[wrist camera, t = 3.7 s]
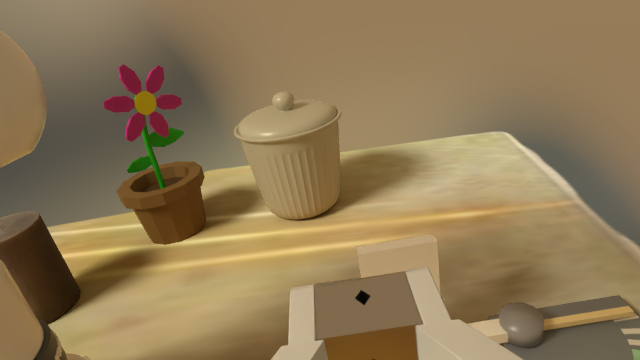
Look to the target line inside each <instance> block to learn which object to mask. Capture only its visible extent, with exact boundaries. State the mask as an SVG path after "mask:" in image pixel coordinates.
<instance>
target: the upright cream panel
mask: <svg viewBox="0 0 640 360" xmlns="http://www.w3.org/2000/svg"><path fill="white" fill-rule="evenodd" d="M356 250H357V256H358V263H359V269H360V275H361V278H364V277H371V276H377V275H383V274H389V273H395V272H401V271H404V270H409V269H415V268H420V267H427V268H429V270H430V272H431V274H432V277H433V279H434V281H435V283H436V285H437V288H438V290H439V292H440V277H439V260H438V242H437V240H436V238H435V236H434V234H429V235H423V236H418V237H412V238H406V239H400V240H394V241H388V242H382V243H376V244H370V245H364V246H358V247H356ZM633 315H634V311H633V310H632V309H631V308H630V307H629V306H624V307H618V308H612V309H606V310H600V311H594V312H587V313H581V314H575V315H569V316H563V317H557V318H551V319H544V317H543V315H542V313H541V312H540V311H539V310H538V309H536V308H535V307H533V306H531V305H528V304H525V303H509V304H506V305H505V306H503V307H502V308H501V310H500V312H499V319H493V320H487V321H480V322H474V323H468V325H470V326H471V327H473V328H474V329H476V330H477V331H479V332H481V333H482V334H484V335H485V336H487V337H489V338H490V339H492V340H493V341H495V342H496V343H498V344H500V343H506V342H508V343H510V344H512V345H515V346H518V347H524V348H528V347H534V346H536V345H538V344H539V343H540V342H541V341H542V339H543V331H544V330H550V329H556V328H563V327H569V326H575V325H581V324H587V323H593V322H600V321H606V320H612V319H618V318H624V317H630V316H633Z"/></svg>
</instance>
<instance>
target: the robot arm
mask: <svg viewBox="0 0 640 360" xmlns="http://www.w3.org/2000/svg"><path fill="white" fill-rule="evenodd" d="M45 120H46V98H45V92H44V88H43V85H42V82H41V79H40V77H39V75H38V72H37V70H36V69H35V67H34V65H33V64H32V62H31V60H30V59H29V58H28V57H27V56H26V54H25V53H24V51H23V50H22V49H21V48H20V47H19V46H18V45H17V44H16V43H15V42H14V41H13V40H12V39H11V38H10V37H9V36H8V35H6V34H5V33H4V32H3V31H1V30H0V167H2V166H4V165H6V164H8V163H10V162H12V161H14V160H16V159H18V158H20V157H22V156H24V155H26V154H28V153H30V152H32V151H33V150H34V148H35V147H36V145H37V143H38V142H39V139H40V137H41V135H42V132H43V129H44V125H45ZM0 360H91V359H90V358H89V357H87V356H85V357H81V356H79V355H76V354H66V353H65V351H64V350H63V348H62V346H61V343H60V340H59V339H58V337H57V336H56V334H55V333H54V332H53V331H52V330H51V329H50V328H49V326H48V325H47V324H46V323H45V322H44V321H43V320H40V319H38V318H36V316H35V314H34V313H33V311H32V309H31V308H30V306H29V304H28V303H27V301H26V299H25V298H24V296H23V294H22V293H21V291H20V289H19V288H18V286H17V284H16V283H15V281H14V279H13V278H12V276H11V274H10V273H9V271H8V269H7V268H6V266H5V264H4V263H3V261H2V260H0ZM271 360H523V359H522V358H520V357H519V356H517V355H515V354H514V353H512V352H511V351H509V350H507V349H506V348H504V347H503V346H501V345H500V344H498V343H496V342H495V341H493V340H492V339H490V338H489V337H487V336H485V335H484V334H482V333H481V332H479V331H477V330H476V329H474V328H473V327H471V326H470V325H468V324H466V323H465V322H463V321H462V320H460V319H456V320H452V319H451V317H450V314H449V312H448V310H447V308H446V305H445V303H444V301H443V299H442V297H441V294H440V292H439V290H438V288H437V285H436V283H435V281H434V279H433V277H432V274H431V272H430V270H429V268H427V267H420V268H415V269H409V270H404V271H401V272H395V273H389V274H383V275H377V276H371V277H364V278H357V279H349V280H342V281H334V282H327V283H319V284H315V285H307V286H300V287H293V288H291V291H290V307H289V337H288V345H285V346H281V347H280V348H279V350H278V351H277V352H276V354H275V355H274V356H273V358H272V359H271Z"/></svg>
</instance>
